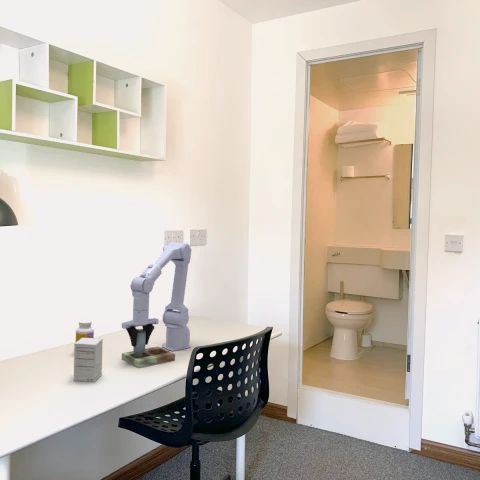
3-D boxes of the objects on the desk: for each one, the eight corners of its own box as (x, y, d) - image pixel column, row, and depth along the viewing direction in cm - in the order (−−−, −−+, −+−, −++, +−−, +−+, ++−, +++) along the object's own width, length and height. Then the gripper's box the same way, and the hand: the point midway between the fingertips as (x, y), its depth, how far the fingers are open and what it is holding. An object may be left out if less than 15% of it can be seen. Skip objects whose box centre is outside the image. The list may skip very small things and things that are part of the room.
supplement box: (80, 373, 163) (82, 337, 162) (102, 374, 163) (103, 338, 162) (72, 381, 156) (73, 343, 155) (95, 382, 155) (96, 344, 155)
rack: (157, 352, 191) (157, 346, 190) (174, 360, 182) (175, 353, 182) (121, 359, 180) (121, 353, 180) (138, 368, 171) (138, 361, 171)
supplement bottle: (87, 357, 180) (88, 324, 180) (71, 355, 182) (72, 322, 181) (96, 352, 187) (97, 320, 186) (80, 350, 188) (81, 318, 188)
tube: (141, 349, 181) (142, 328, 181) (147, 352, 178) (148, 330, 177) (130, 351, 178) (131, 329, 178) (136, 353, 175) (137, 332, 174)
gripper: (151, 305, 185) (150, 339, 186) (118, 309, 175) (116, 345, 176) (161, 308, 180) (160, 344, 180) (127, 312, 170) (126, 350, 171)
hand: (139, 345), depth 178 cm, fingers closed on tube, 4 cm apart
